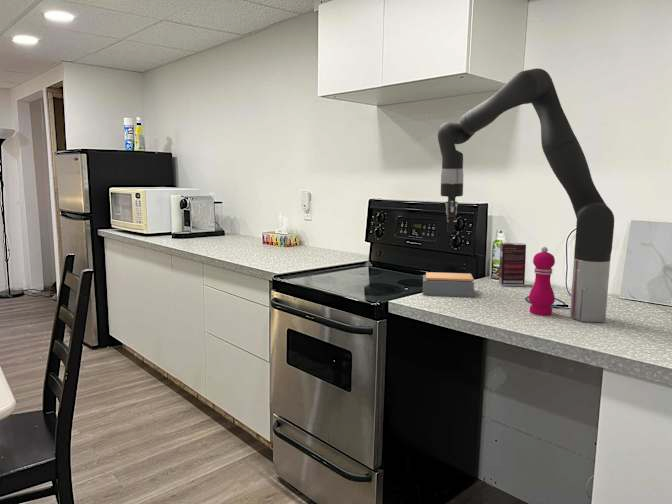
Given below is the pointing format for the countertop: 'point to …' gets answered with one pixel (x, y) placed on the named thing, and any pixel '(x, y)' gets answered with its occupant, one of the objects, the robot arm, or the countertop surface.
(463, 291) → the grey open box
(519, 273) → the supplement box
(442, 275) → the cover
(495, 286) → the countertop surface
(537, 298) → the pepper mill
